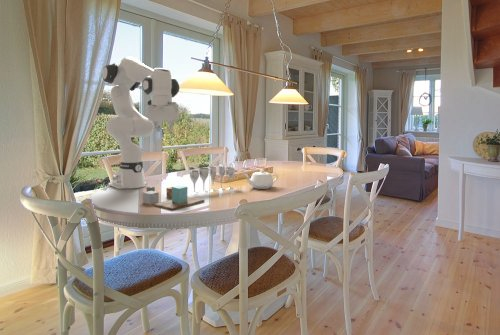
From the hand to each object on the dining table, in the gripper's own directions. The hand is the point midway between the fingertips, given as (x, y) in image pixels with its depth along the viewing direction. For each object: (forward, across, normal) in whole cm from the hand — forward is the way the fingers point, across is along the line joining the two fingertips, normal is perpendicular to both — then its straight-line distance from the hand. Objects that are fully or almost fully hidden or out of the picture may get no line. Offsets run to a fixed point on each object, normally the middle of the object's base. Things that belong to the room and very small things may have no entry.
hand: (163, 130), depth 172 cm
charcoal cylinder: (+33, +3, +6) cm, 34 cm away
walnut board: (+33, -18, +6) cm, 38 cm away
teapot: (+33, -25, -50) cm, 65 cm away
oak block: (+33, -6, -1) cm, 34 cm away
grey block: (+33, -6, +13) cm, 36 cm away
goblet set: (+33, -10, -26) cm, 43 cm away
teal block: (+32, -18, +6) cm, 37 cm away
